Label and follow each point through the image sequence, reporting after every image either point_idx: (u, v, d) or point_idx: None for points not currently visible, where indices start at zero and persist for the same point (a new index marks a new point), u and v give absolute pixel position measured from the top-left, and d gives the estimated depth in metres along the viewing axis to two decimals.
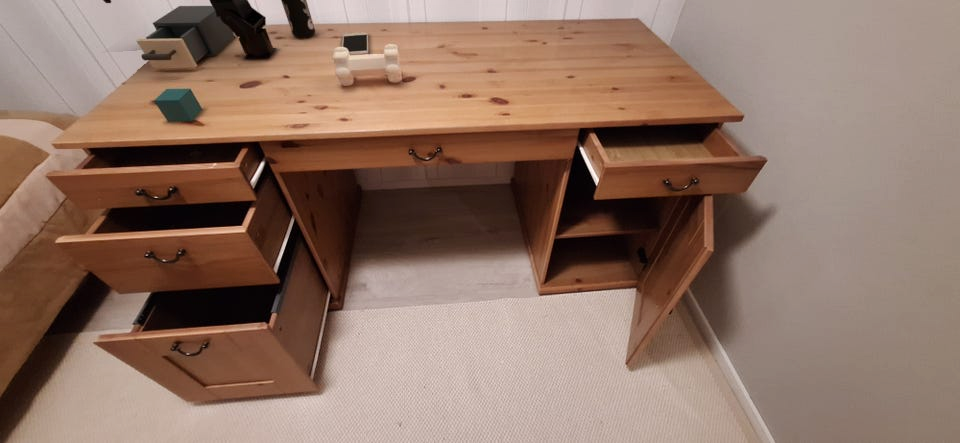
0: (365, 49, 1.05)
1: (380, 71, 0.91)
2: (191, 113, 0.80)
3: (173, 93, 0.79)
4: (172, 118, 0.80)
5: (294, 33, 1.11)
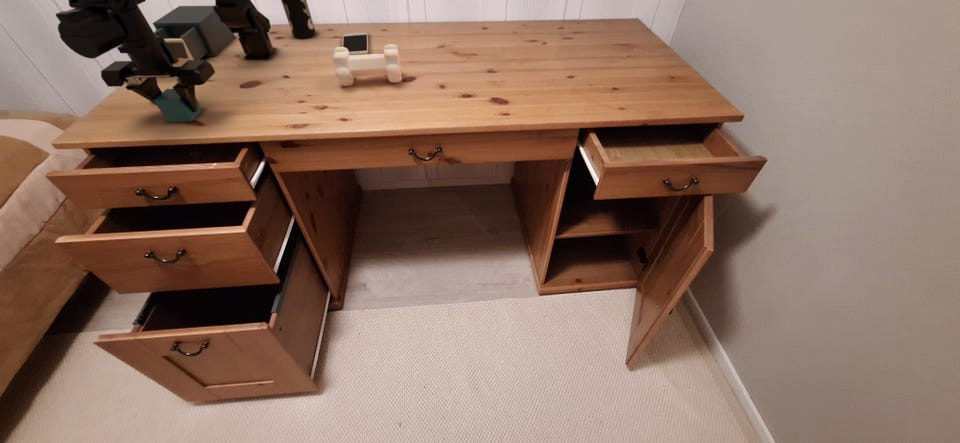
0: (365, 49, 1.05)
1: (380, 71, 0.91)
2: (191, 113, 0.80)
3: (173, 93, 0.79)
4: (172, 118, 0.80)
5: (294, 33, 1.11)
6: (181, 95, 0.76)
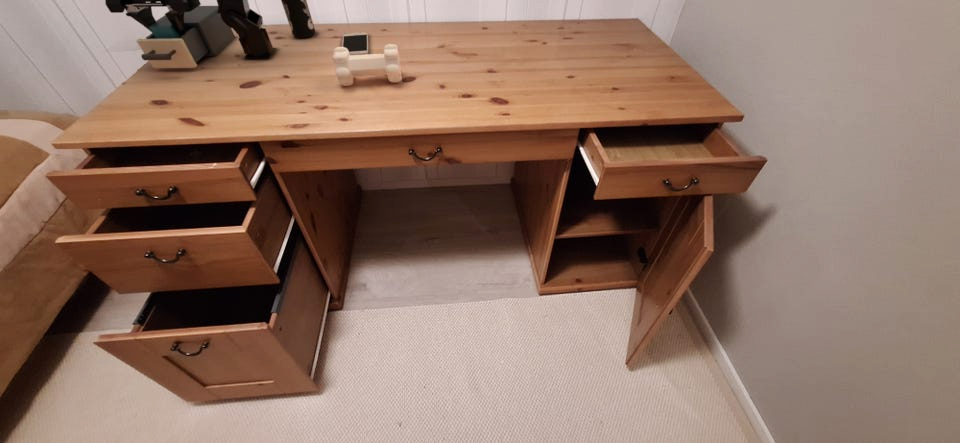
0: (365, 49, 1.05)
1: (380, 71, 0.91)
2: None
3: (165, 22, 0.94)
4: None
5: (294, 33, 1.11)
6: (172, 22, 0.91)
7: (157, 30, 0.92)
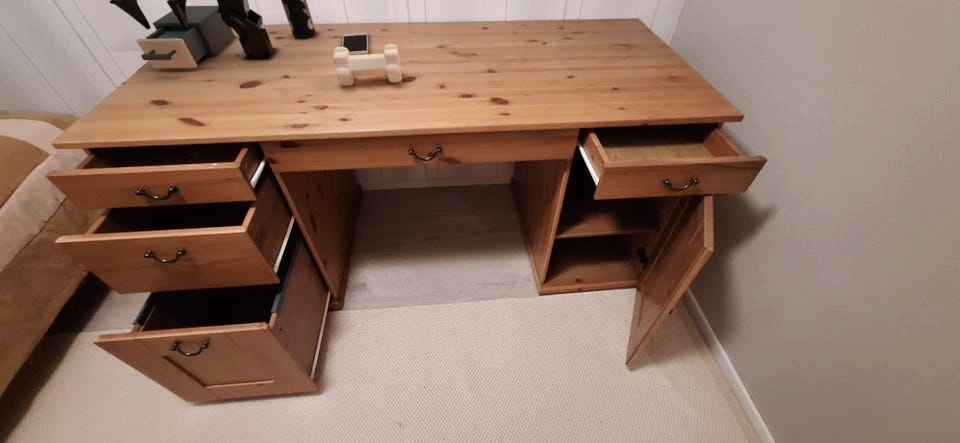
0: (365, 49, 1.05)
1: (380, 71, 0.91)
2: None
3: (172, 34, 0.96)
4: None
5: (294, 33, 1.11)
6: (174, 10, 0.90)
7: None
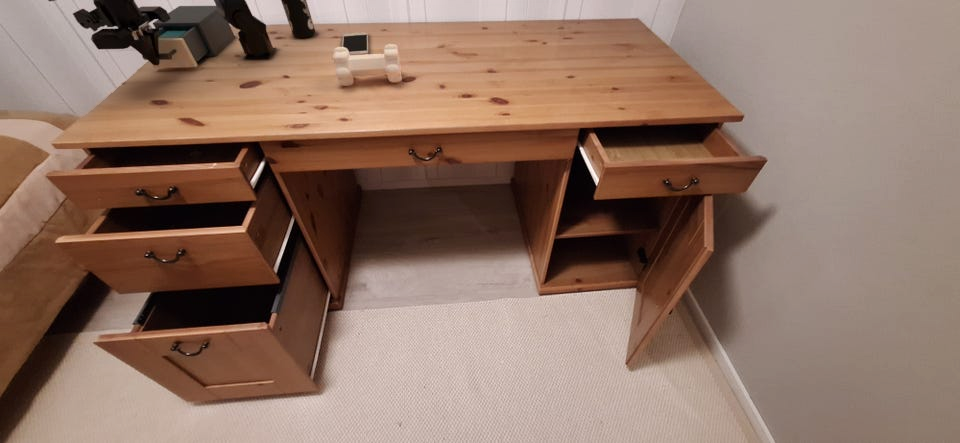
0: (365, 49, 1.05)
1: (380, 71, 0.91)
2: None
3: (172, 33, 0.96)
4: None
5: (294, 33, 1.11)
6: (156, 42, 0.88)
7: None
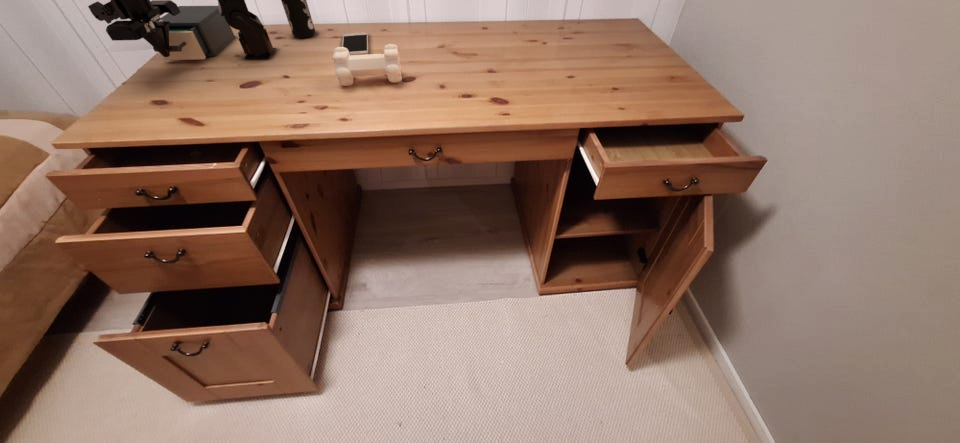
0: (365, 49, 1.05)
1: (380, 71, 0.91)
2: None
3: (182, 27, 0.99)
4: None
5: (294, 33, 1.11)
6: (167, 34, 0.91)
7: None
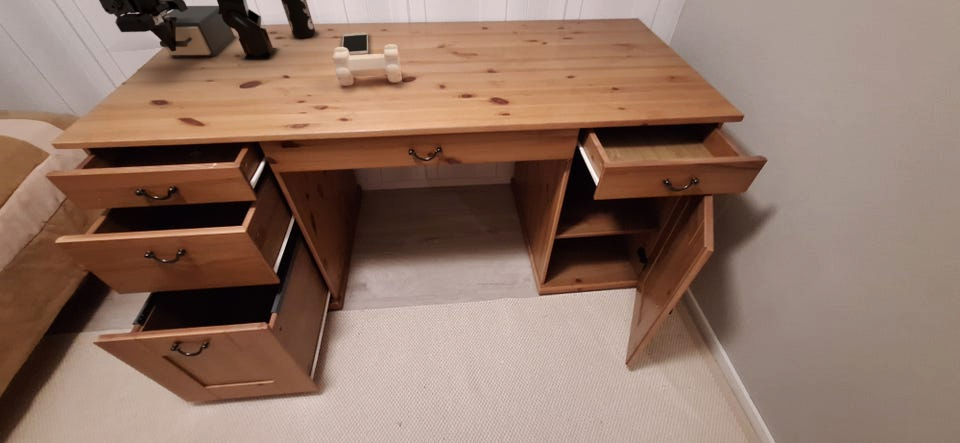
0: (365, 49, 1.05)
1: (380, 71, 0.91)
2: None
3: None
4: None
5: (294, 33, 1.11)
6: (173, 29, 0.93)
7: None
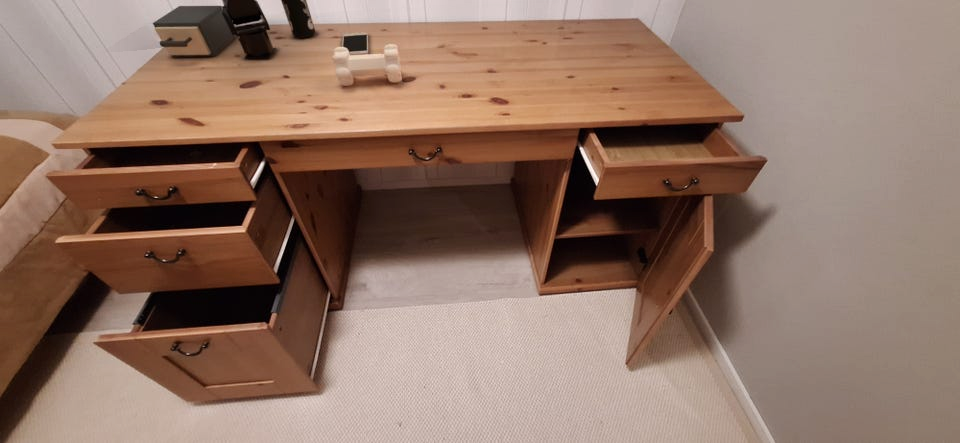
0: (365, 49, 1.05)
1: (380, 71, 0.91)
2: None
3: None
4: None
5: (294, 33, 1.11)
6: None
7: None
